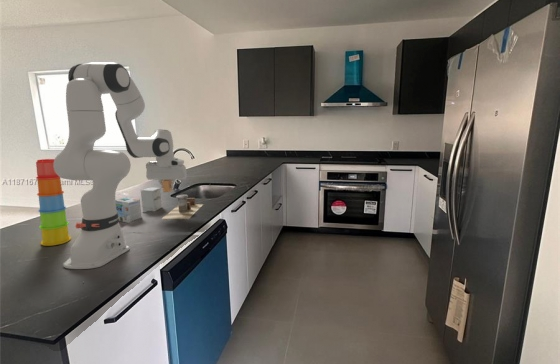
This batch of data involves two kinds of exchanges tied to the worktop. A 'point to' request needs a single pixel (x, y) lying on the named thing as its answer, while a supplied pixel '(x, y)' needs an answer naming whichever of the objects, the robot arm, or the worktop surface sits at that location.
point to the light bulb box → (128, 209)
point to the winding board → (182, 215)
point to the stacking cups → (51, 205)
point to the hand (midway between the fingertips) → (167, 187)
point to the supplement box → (151, 199)
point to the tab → (167, 186)
